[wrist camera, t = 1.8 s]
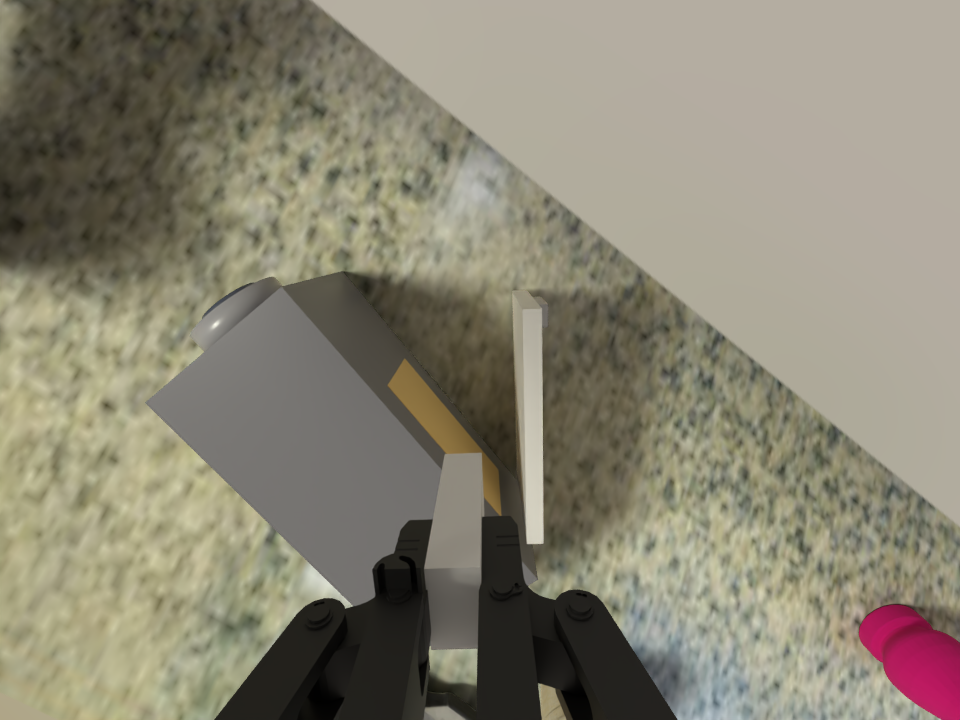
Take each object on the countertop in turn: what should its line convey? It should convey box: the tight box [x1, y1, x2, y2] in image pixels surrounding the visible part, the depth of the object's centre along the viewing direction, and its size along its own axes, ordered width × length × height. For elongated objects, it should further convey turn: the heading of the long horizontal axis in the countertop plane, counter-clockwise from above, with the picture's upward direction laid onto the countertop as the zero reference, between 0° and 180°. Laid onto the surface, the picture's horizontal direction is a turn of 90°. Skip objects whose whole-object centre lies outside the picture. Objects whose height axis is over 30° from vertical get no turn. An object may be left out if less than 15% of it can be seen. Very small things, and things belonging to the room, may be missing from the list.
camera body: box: [145, 271, 538, 646], centre depth 35 cm, size 28×12×13 cm, turn 38°
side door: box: [512, 290, 548, 544], centre depth 35 cm, size 17×2×10 cm, turn 3°
